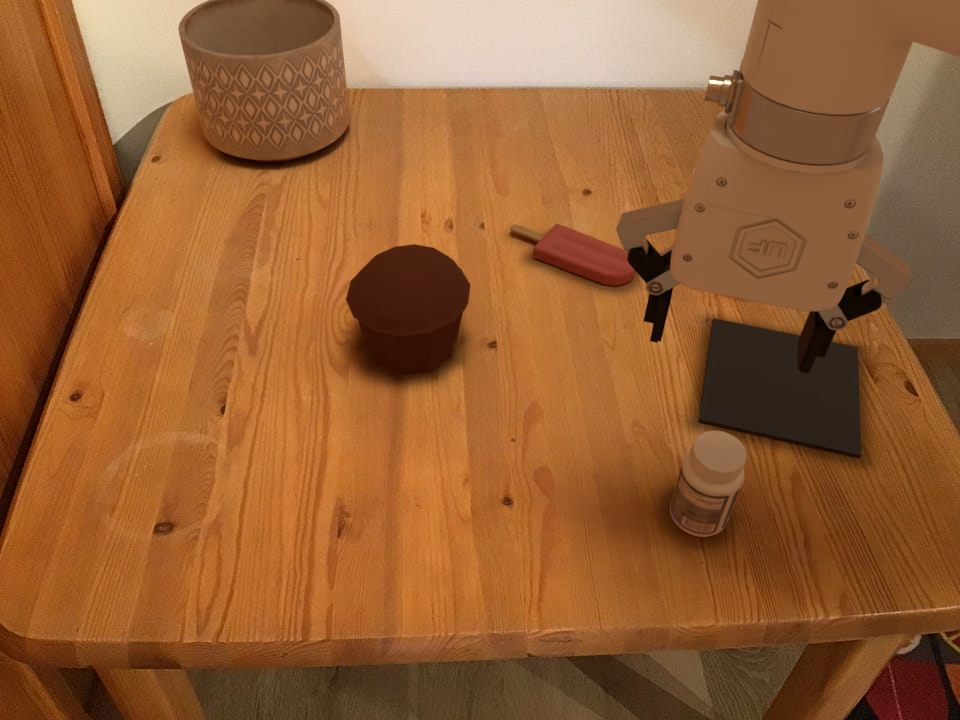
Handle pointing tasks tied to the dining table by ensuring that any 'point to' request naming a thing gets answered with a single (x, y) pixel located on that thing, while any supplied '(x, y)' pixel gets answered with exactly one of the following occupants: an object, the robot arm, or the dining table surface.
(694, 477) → the pill bottle
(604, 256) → the popsicle
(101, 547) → the dining table surface
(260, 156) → the planter
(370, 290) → the muffin
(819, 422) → the slate mat
